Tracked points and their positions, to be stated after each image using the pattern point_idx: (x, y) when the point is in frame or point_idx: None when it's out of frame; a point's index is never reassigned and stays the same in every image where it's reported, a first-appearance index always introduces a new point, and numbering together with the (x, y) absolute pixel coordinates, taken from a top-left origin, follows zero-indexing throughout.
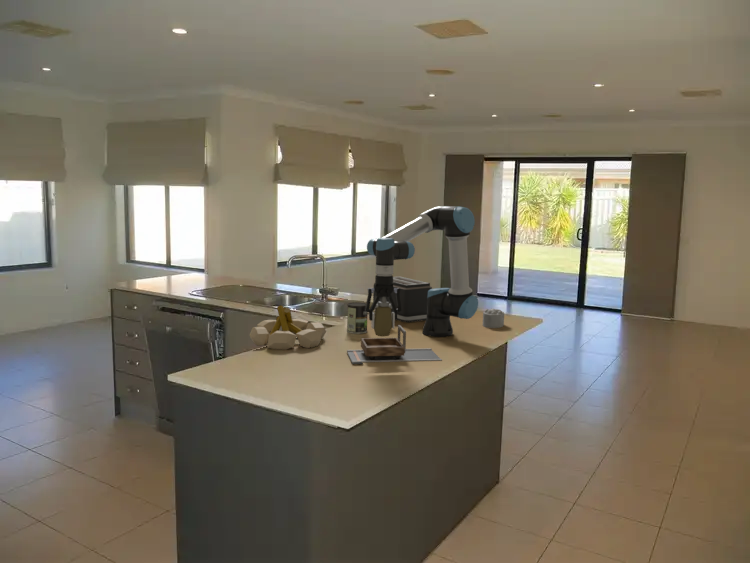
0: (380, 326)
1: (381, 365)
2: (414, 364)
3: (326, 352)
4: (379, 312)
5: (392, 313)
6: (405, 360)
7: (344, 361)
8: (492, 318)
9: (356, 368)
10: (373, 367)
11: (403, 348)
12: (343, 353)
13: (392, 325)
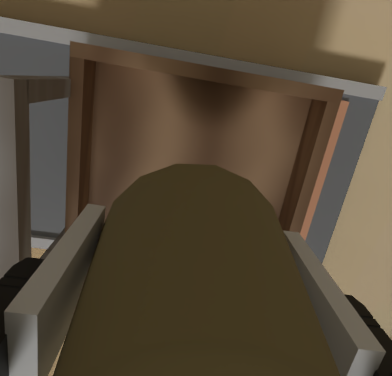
0: (249, 189)
1: (238, 36)
2: (49, 5)
3: (387, 298)
4: (311, 325)
5: (42, 346)
6: (92, 33)
7: (382, 154)
8: None
9: (387, 14)
10: (294, 8)
11: (81, 43)
12: (328, 272)
13: (97, 229)
